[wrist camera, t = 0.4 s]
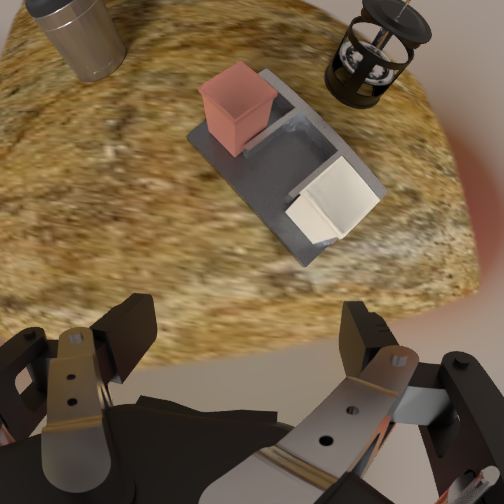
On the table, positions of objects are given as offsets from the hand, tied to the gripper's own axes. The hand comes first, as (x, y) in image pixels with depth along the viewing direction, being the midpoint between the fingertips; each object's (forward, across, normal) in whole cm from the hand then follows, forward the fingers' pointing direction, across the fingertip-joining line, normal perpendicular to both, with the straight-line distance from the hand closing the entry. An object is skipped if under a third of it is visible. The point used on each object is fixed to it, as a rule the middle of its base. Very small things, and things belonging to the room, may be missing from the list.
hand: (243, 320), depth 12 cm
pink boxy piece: (+26, +4, -11) cm, 29 cm away
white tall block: (+25, -5, -1) cm, 25 cm away
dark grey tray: (+28, -1, -6) cm, 28 cm away
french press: (+34, -13, -21) cm, 43 cm away
